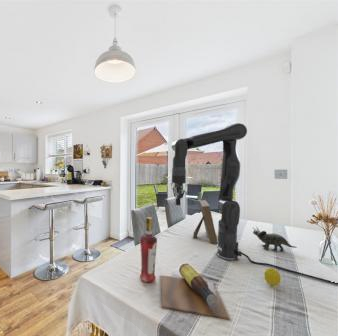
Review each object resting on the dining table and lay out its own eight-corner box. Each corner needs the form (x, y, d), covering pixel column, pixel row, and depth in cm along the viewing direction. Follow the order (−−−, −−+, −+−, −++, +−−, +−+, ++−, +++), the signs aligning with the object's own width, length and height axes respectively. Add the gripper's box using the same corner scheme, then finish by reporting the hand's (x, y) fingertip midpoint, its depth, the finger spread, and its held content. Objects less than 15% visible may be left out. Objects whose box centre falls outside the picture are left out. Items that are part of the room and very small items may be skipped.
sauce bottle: (176, 273, 90) (199, 304, 70) (181, 260, 90) (206, 288, 70) (189, 278, 90) (215, 310, 70) (194, 265, 90) (221, 294, 71)
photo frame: (212, 233, 149) (213, 200, 148) (217, 244, 128) (219, 206, 128) (191, 230, 154) (192, 199, 153) (193, 240, 133) (194, 204, 132)
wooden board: (212, 284, 85) (212, 282, 85) (229, 319, 66) (229, 317, 66) (161, 276, 90) (161, 275, 90) (162, 307, 71) (162, 306, 71)
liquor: (144, 273, 93) (146, 214, 92) (158, 279, 88) (160, 217, 87) (136, 280, 87) (137, 218, 86) (150, 286, 83) (152, 221, 82)
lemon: (275, 291, 81) (276, 272, 81) (261, 283, 86) (261, 266, 86) (283, 288, 83) (283, 269, 83) (268, 281, 89) (269, 263, 88)
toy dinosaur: (296, 253, 118) (297, 234, 117) (296, 257, 111) (297, 238, 111) (252, 242, 133) (253, 226, 132) (250, 246, 126) (251, 228, 126)
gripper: (190, 175, 104) (189, 207, 104) (180, 174, 117) (179, 202, 118) (176, 175, 104) (175, 207, 104) (168, 173, 117) (167, 202, 117)
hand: (177, 205), depth 111 cm, fingers closed
